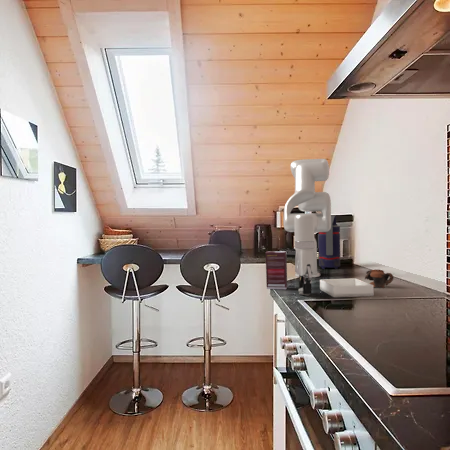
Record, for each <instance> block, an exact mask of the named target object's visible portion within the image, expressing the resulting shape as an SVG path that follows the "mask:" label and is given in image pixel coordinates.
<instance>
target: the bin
mask: <svg viewBox="0 0 450 450" xmlns="http://www.w3.org/2000/svg"><path fill="white" fill-rule="evenodd" d="M369 283H370V282H366V281H363V280H360V279H359V278H355V277H354V278H353V277H352V278H330V279H327V278H326V279H319V290H321V291H322V292H324V293H326V294H328V295H329V296H331V297H332V298H351V297H353V298H354V297H374V290H375V289H374V287H373V285H371V284H369Z"/></svg>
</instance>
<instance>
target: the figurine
mask: <svg viewBox="0 0 450 450" xmlns="http://www.w3.org/2000/svg"><path fill="white" fill-rule="evenodd" d="M297 292H298V294H299V295H301V296H305V297H306V296H310V295H311V294H303V288H300V289H299V288H298V291H297Z"/></svg>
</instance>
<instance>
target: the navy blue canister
mask: <svg viewBox="0 0 450 450" xmlns="http://www.w3.org/2000/svg"><path fill="white" fill-rule="evenodd" d="M340 232H341V226H340V225H338V223H337V216H336V215H331V228H330V230H329V231H328V232H318V266H319V267H321V269H323V270H325V269H326V268H334V269H335V270H337V269H338V268H340V267H341V234H340Z"/></svg>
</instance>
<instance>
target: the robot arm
mask: <svg viewBox="0 0 450 450" xmlns="http://www.w3.org/2000/svg"><path fill="white" fill-rule="evenodd" d="M329 166H330V165H329V161H328V160H327V159H326V158H311V159H310V158H307V159H297V160H293V161H291V163H290V172H291V175H292V176H293V178H294V193H293V194H292V195H290V197H289V198H288V199H287V201H286V202H285V205H284V208H283V221H282V222H283V223H282V224H283V228H284V231H286V232H289V233H294V250H295V257H294V258H295V259H294V261H295V264H294V275H295V277H298V280H299V281H298V290H299V289H300V288H303V294H310V295H311V294H312V278H318V277H320V276H321V273H320V272H318V257H317V256H318V253H317V252H318V251H317V250H318V248H317V247H318V246H317V244H318V243H317V238H315V233H319V232H328V231H329V230H330V228H331V216H332V202H331V196H330V193H328V192H325V191H316V188H315V187H316V184H315V183H316V182H326V181H328V180H329V176H330V167H329ZM295 207H297V208H298V210H299V211H301V212H309V213H291V212H292V210H293V209H294V208H295ZM310 212H311V213H310ZM312 212H313V213H312ZM314 212H315V213H314ZM317 212H318V213H317ZM319 212H320V213H319Z"/></svg>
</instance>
